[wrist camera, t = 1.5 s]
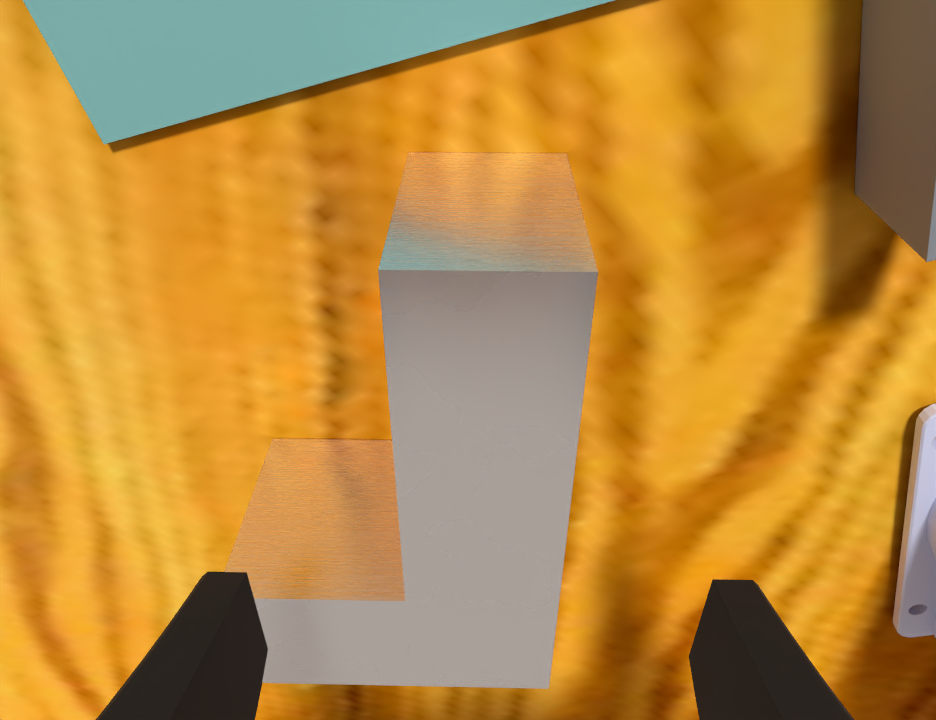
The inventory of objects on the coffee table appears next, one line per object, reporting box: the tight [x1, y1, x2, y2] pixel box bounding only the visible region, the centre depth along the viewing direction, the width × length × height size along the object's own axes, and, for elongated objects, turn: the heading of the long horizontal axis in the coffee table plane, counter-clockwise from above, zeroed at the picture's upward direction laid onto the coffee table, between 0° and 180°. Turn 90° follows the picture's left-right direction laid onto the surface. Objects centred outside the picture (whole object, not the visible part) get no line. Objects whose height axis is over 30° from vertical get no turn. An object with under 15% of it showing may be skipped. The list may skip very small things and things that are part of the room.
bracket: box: [225, 152, 598, 689], centre depth 16 cm, size 11×7×5 cm, turn 0°
